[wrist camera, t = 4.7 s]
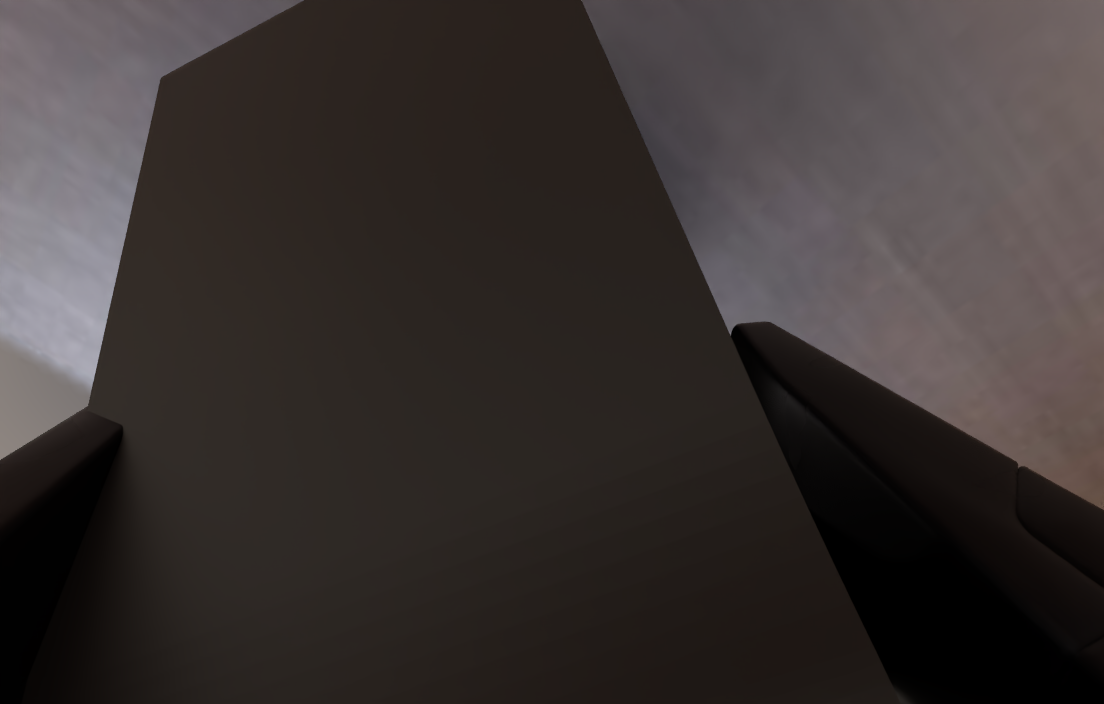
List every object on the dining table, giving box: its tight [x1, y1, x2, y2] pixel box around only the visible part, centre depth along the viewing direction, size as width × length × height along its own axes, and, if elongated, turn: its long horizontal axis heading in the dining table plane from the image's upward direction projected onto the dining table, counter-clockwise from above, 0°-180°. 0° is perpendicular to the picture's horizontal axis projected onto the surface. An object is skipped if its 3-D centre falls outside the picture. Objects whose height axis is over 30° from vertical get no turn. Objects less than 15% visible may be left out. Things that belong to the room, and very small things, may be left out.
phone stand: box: [21, 0, 901, 704], centre depth 8 cm, size 9×6×12 cm, turn 24°
